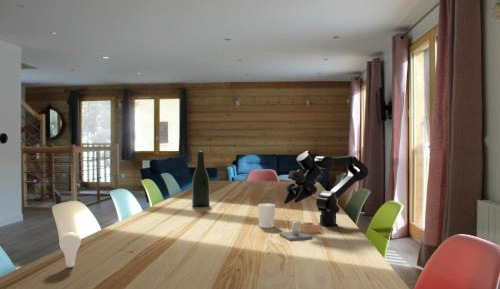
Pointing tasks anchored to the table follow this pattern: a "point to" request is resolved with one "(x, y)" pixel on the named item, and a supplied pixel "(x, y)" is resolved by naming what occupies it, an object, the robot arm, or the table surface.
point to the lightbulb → (70, 247)
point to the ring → (309, 227)
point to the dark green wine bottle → (200, 184)
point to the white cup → (266, 215)
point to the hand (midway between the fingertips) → (289, 202)
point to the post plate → (296, 237)
